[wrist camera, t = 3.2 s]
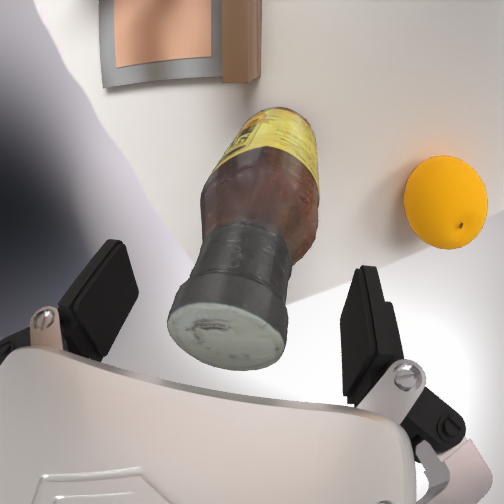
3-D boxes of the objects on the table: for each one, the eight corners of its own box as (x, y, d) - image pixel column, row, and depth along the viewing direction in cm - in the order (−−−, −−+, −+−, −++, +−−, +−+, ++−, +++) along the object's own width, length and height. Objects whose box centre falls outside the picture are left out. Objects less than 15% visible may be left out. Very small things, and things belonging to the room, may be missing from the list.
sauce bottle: (253, 96, 22) (127, 222, 7) (325, 118, 23) (367, 296, 7) (235, 163, 27) (136, 353, 11) (301, 184, 27) (283, 397, 11)
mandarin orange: (448, 228, 26) (474, 276, 21) (384, 210, 27) (403, 259, 21) (477, 161, 21) (518, 199, 16) (411, 133, 22) (445, 165, 16)
